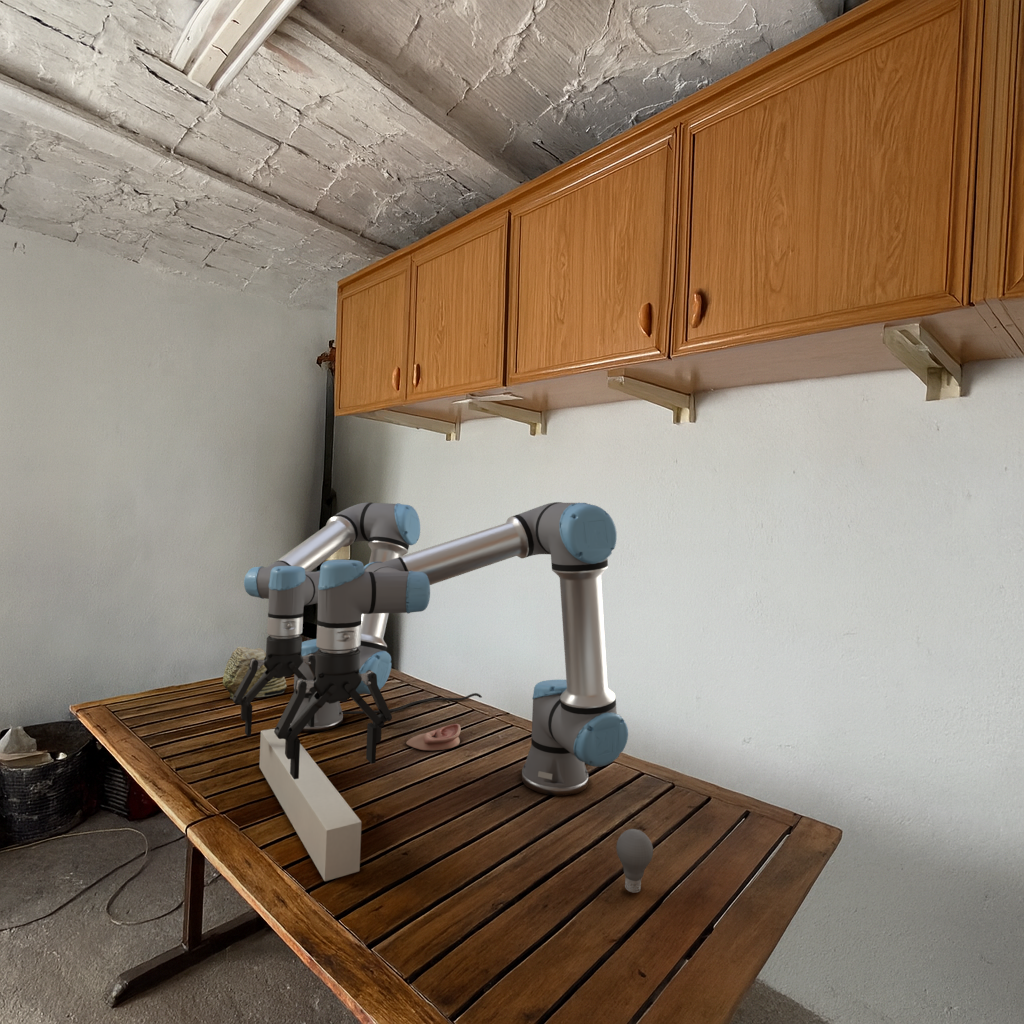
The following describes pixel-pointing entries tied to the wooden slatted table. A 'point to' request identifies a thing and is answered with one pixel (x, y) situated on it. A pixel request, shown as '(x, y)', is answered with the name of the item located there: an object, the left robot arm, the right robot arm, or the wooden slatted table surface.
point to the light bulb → (634, 857)
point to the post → (313, 809)
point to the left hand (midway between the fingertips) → (280, 729)
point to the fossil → (239, 668)
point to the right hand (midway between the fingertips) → (333, 768)
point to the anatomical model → (437, 738)
